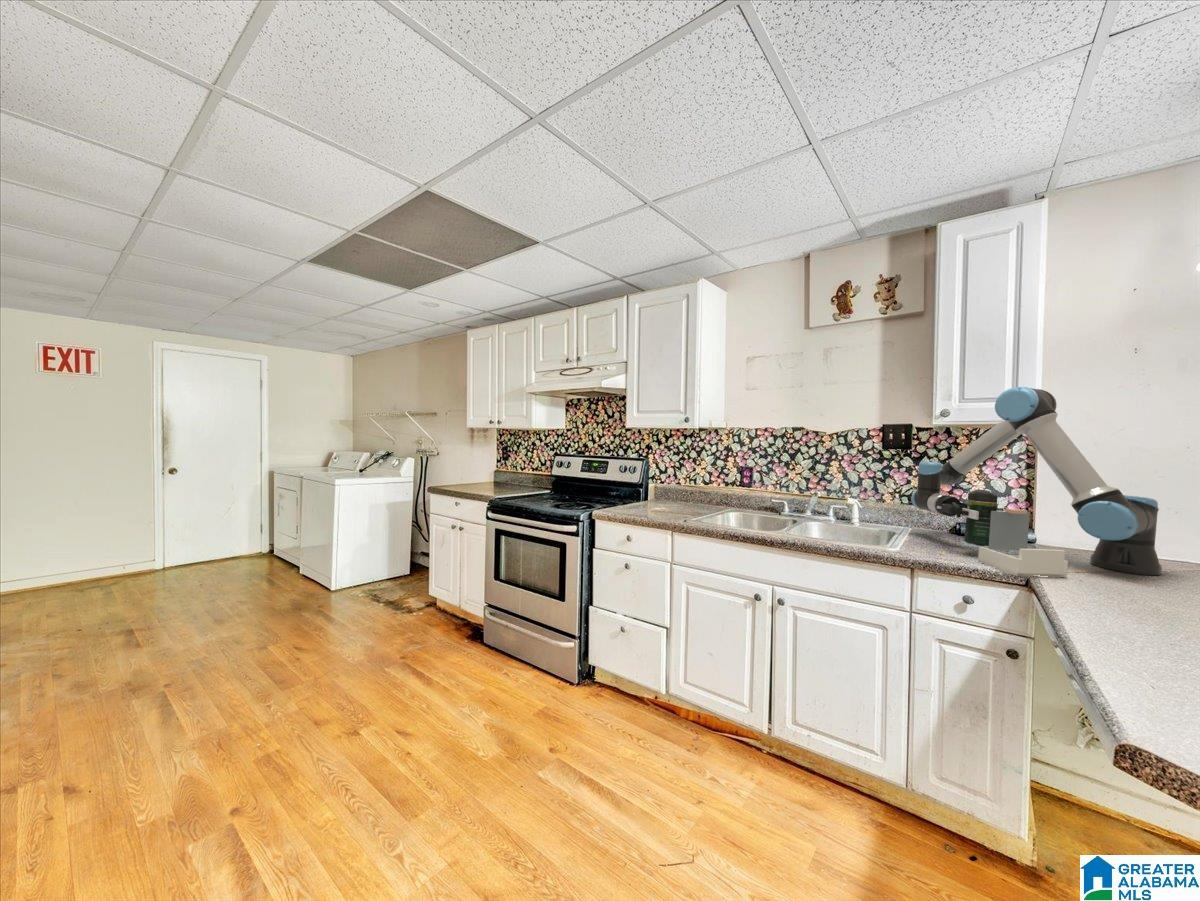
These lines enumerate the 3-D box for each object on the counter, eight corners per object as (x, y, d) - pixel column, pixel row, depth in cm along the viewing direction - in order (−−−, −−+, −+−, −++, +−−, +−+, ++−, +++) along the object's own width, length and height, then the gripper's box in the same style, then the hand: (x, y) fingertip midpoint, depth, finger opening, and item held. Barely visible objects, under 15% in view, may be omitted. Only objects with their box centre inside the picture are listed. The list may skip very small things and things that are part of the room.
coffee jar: (995, 548, 155) (999, 492, 154) (964, 544, 160) (968, 490, 159) (992, 543, 163) (996, 489, 162) (963, 539, 167) (967, 487, 166)
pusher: (1024, 549, 150) (1027, 508, 149) (1035, 552, 146) (1038, 511, 145) (988, 548, 150) (991, 507, 150) (998, 551, 146) (1001, 510, 146)
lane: (1022, 563, 152) (1024, 538, 152) (1066, 578, 137) (1068, 550, 137) (978, 561, 153) (979, 537, 152) (1017, 576, 138) (1019, 549, 137)
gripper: (972, 515, 178) (1024, 528, 156) (915, 513, 179) (957, 526, 157) (974, 496, 178) (1025, 505, 155) (916, 494, 179) (959, 503, 156)
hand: (991, 515), depth 156 cm, fingers closed on coffee jar, 8 cm apart
